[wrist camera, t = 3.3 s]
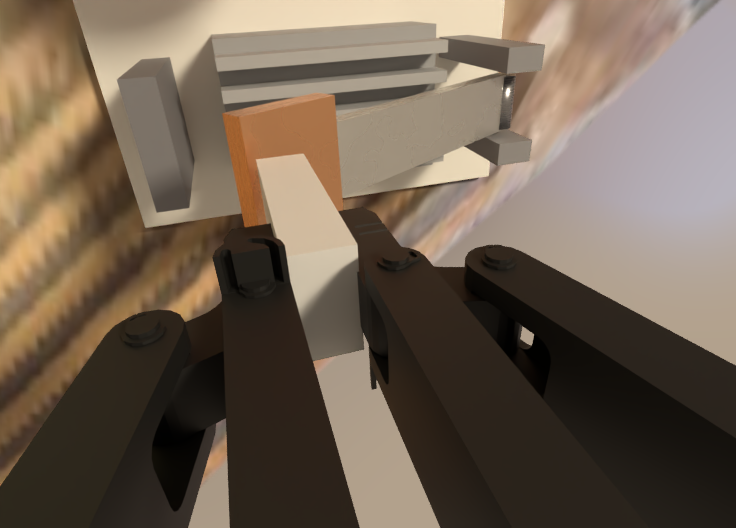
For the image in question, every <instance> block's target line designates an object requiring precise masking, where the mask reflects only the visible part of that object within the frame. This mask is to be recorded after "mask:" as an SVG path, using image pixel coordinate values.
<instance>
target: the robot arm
mask: <svg viewBox="0 0 736 528" xmlns="http://www.w3.org/2000/svg"><path fill="white" fill-rule="evenodd" d="M256 163H257V169H258V175H259V181H260V187H261V193H262V198H263V204H264V210H265V216H266V222H267V224H263V225H256V226H250V227H244V228H237V229H232V230H231V231H230V232H229V234H228V235H227V236H226V237H225V239H224V244H223V245H222V246H220V247H219V248H218V249H217V250H216V251H215V253H214V255H213V261H214V265H215V270H216V274H217V278H218V282H219V286H220V290H221V294H222V302H221V303H220V304H218V305H217V306H216V307H215V308H214V309H212V310H211V311H209V312H208V313H206V314H203V315H201V316H199V317H197V318H194V319H192V320H189V321H187V322H184V320H183V318H182V317H181V315H180V314H178V313H175V312H173V311H169V310H154V311H148V312H142V313H138V314H137V315H136V314H135V315H133V316H131V317H129V318H127V319H125V320H124V321H122V322H120V323H119V324H117V325H115V326H114V327H113V328H112V329H111V330H110V331H109V332H108V333H107V334H106V335H105V337H104V338H103V340H102V341H101V343H100V344H99V345H98V347H97V348H96V350H95V351H94V353H93V354H92V355H91V357H90V358H89V360H88V361H87V363H86V364H85V366H84V367H83V368H82V370H81V371H80V373H79V374H78V376H77V377H76V378H75V380H74V381H73V383H72V384H71V386H70V387H69V388H68V390H67V391H66V393H65V394H64V396H63V397H62V399H61V400H60V401H59V403H58V404H57V406H56V407H55V409H54V410H53V411H52V413H51V414H50V416H49V417H48V419H47V420H46V422H45V423H44V424H43V426H42V427H41V429H40V430H39V432H38V433H37V434H36V436H35V437H34V439H33V440H32V442H31V443H30V444H29V446H28V447H27V449H26V450H25V452H24V453H23V455H22V456H21V457H20V459H19V460H18V462H17V463H16V465H15V466H14V467H13V469H12V470H11V472H10V473H9V475H8V476H7V477H6V479H5V480H4V482H3V483H2V485H1V486H0V528H188V526H189V522H190V519H191V515H192V512H193V508H194V505H195V502H196V498H197V495H198V491H199V488H200V484H201V481H202V477H203V474H204V471H205V467H206V464H207V460H208V457H209V453H210V450H211V447H212V443H213V440H214V436H215V430H216V423H217V422H219V421H221V420H223V419H225V418H226V431H227V460H228V487H229V516H230V528H360V527H359V524H358V520H357V517H356V513H355V510H354V507H353V503H352V499H351V495H350V492H349V488H348V485H347V481H346V478H345V474H344V471H343V467H342V463H341V460H340V456H339V453H338V449H337V446H336V442H335V438H334V435H333V431H332V428H331V424H330V421H329V417H328V414H327V410H326V407H325V403H324V400H323V396H322V392H321V389H320V385H319V382H318V378H317V374H316V371H315V367H314V364H313V361H315V360H320V359H324V358H329V357H333V356H337V355H342V354H346V353H351V352H355V351H359V350H364V341H363V333H364V335H365V337H366V339H367V341H368V344H369V358H370V376H371V387H372V389H376V380H377V381H378V383H379V385H380V388H381V390H382V392H383V395H384V397H385V399H386V402H387V404H388V406H389V409H390V411H391V413H392V416H393V418H394V420H395V423H396V425H397V427H398V430H399V432H400V435H401V437H402V439H403V442H404V444H405V446H406V448H407V451H408V453H409V455H410V458H411V460H412V462H413V465H414V467H415V469H416V472H417V474H418V477H419V479H420V481H421V484H422V486H423V488H424V490H425V493H426V495H427V497H428V500H429V502H430V504H431V507H432V509H433V512H434V514H435V516H436V518H437V521H438V523H439V526H440V528H736V366H735V365H733V364H732V363H730V362H728V361H726V360H724V359H722V358H720V357H719V356H717V355H715V354H713V353H711V352H709V351H707V350H705V349H704V348H702V347H700V346H698V345H696V344H694V343H692V342H690V341H688V340H686V339H684V338H683V337H681V336H679V335H677V334H675V333H673V332H672V331H670V330H668V329H666V328H664V327H662V326H660V325H658V324H656V323H655V322H653V321H651V320H649V319H647V318H645V317H643V316H642V315H640V314H638V313H636V312H634V311H632V310H630V309H628V308H627V307H625V306H623V305H621V304H619V303H617V302H615V301H613V300H612V299H610V298H608V297H606V296H604V295H602V294H600V293H598V292H597V291H595V290H593V289H591V288H589V287H587V286H585V285H583V284H582V283H580V282H578V281H576V280H574V279H572V278H570V277H568V276H566V275H565V274H563V273H561V272H559V271H557V270H555V269H553V268H552V267H550V266H548V265H546V264H544V263H542V262H540V261H538V260H536V259H534V258H533V257H531V256H529V255H527V254H525V253H523V252H521V251H519V250H516V249H514V248H511V247H505V246H502V245H494V246H493V245H486V246H483V247H478V248H475V249H473V250H472V251H470V252H469V253H468V254H467V256H466V258H465V267H434V266H433V265H432V264H431V263H430V262H429V260H428V259H427V258H426V257H425V256H424V255H423V254H421V253H420V252H419V251H416V250H413V249H410V248H405V247H401V246H400V245H399V243H398V242H397V241H396V240H395V238H394V237H393V236H392V234H391V233H390V232H389V230H387V228H386V226H385V225H384V224H383V223H382V221H381V220H380V219H379V217H378V216H377V215H376V213H374V212H372V211H369V210H367V209H365V208H363V207H361V208H355V209H349V210H342V211H337V209H336V207H335V206H334V204H333V202H332V201H331V199H330V197H329V196H328V194H327V192H326V190H325V189H324V187H323V185H322V184H321V182H320V180H319V179H318V177H317V175H316V174H315V172H314V170H313V169H312V167H311V165H310V164H309V162H308V160H307V158H306V157H305V155H304V153H303V154H295V155H287V156H279V157H271V158H263V159H256ZM522 326H523V327H525V328H526V329H528V330H529V331H530V332H532V333H533V334H534V339H533V344H532V346H531V345H528V344H526V343H525V342H523V341H522V340H521V339H520V337H521V331H522Z"/></svg>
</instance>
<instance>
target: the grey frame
mask: <svg viewBox="0 0 736 528" xmlns="http://www.w3.org/2000/svg"><path fill="white" fill-rule="evenodd" d="M73 3H74V6H75V10H76V13H77V16H78V19H79V22H80V25H81V28H82V31H83V35H84V38H85V41H86V44H87V47H88V50H89V53H90V56H91V60H92V63H93V66H94V69H95V72H96V75H97V78H98V81H99V85H100V88H101V91H102V94H103V97H104V100H105V103H106V106H107V109H108V113H109V116H110V119H111V122H112V125H113V128H114V131H115V134H116V138H117V141H118V144H119V147H120V150H121V153H122V156H123V159H124V163H125V166H126V169H127V172H128V175H129V178H130V181H131V184H132V188H133V191H134V194H135V197H136V200H137V203H138V206H139V209H140V213H141V216H142V219H143V222H144V225H145V228H149V227H155V226H162V225H168V224H175V223H182V222H188V221H195V220H201V219H208V218H215V217H221V216H228V215H234V214H241V213H242V211H241V206H240V201H239V196H238V191H237V186H236V181H235V176H234V171H233V166H232V161H231V156H230V151H229V146H228V141H227V136H226V131H225V126H224V121H223V116H222V113H226V112H230V111H235V110H239V109H244V108H248V107H253V106H257V105H262V104H267V103H271V102H276V101H280V100H285V99H289V98H294V97H299V96H303V95H308V94H312V93H323V94H330V95H335V107H336V116H338V115H342V114H346V113H349V112H353V111H357V110H360V109H364V108H368V107H372V106H375V105H379V104H383V103H386V102H390V101H394V100H398V99H401V98H405V97H409V96H412V95H416V94H420V93H424V92H427V91H431V90H435V89H438V88H442V87H446V86H450V85H453V84H457V83H461V82H464V81H468V80H472V79H476V78H479V77H483V76H487V75H490V74H494V73H498V72H502V73H506V74H510V73H520V72H531V71H541V70H542V63H543V56H544V49H545V45H543V44H535V43H528V42H520V41H512V40H504V39H501V36H502V25H503V15H504V4H505V0H73ZM531 144H532V140H531V139H528V138H526V137H524V136H521V135H519V134H517V133H514V132H512V131H510V130H508V129H504V130H501V131H499V132H497V133H494V134H492V135H489V136H487V137H485V138H482V139H480V140H478V141H475V142H473V143H470V144H468V145H466V146H463V147H461V148H459V149H456V150H454V151H451V152H449V153H447V154H444V155H442V156H440V157H437V158H435V159H432V160H430V161H428V162H425V163H423V164H421V165H418V166H416V167H414V168H411V169H409V170H406V171H404V172H402V173H399V174H397V175H395V176H392V177H390V178H387V179H385V180H383V181H380V182H378V183H376V184H373V185H371V186H368V187H366V188H364V189H361V190H359V191H357V192H354V193H352V194H349V195H347V196H345V197H342V198H346V197H353V196H360V195H366V194H373V193H379V192H386V191H393V190H399V189H406V188H412V187H419V186H425V185H432V184H439V183H445V182H452V181H458V180H465V179H472V178H478V177H485V176H489V166H490V162H492V163H494V164H495V165H497V166H500V165H506V164H513V163H520V162H527V161H529V158H530V151H531Z"/></svg>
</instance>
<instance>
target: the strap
mask: <svg viewBox="0 0 736 528" xmlns="http://www.w3.org/2000/svg"><path fill="white" fill-rule="evenodd" d="M515 82H516V75H515V74H506V73H494V74H490V75H487V76H483V77H479V78H476V79H472V80H468V81H464V82H461V83H457V84H453V85H450V86H446V87H442V88H438V89H435V90H431V91H427V92H424V93H420V94H416V95H412V96H409V97H405V98H401V99H398V100H394V101H390V102H386V103H383V104H379V105H375V106H372V107H368V108H364V109H360V110H357V111H353V112H349V113H346V114H342V115H338V116H336V107H335V95H330V94H323V93H312V94H308V95H303V96H299V97H294V98H289V99H285V100H280V101H276V102H271V103H267V104H262V105H257V106H253V107H248V108H244V109H239V110H235V111H230V112H226V113H222V116H223V121H224V126H225V131H226V136H227V141H228V146H229V151H230V156H231V161H232V166H233V171H234V176H235V181H236V186H237V191H238V196H239V201H240V206H241V211H242V216H243V221H244V226H245V227H250V226H256V225H263V224H267V222H266V216H265V210H264V204H263V198H262V193H261V187H260V181H259V175H258V169H257V163H256V159H263V158H271V157H279V156H287V155H295V154H303V153H304V155H305V157H306V158H307V160H308V162H309V164H310V165H311V167H312V169H313V170H314V172H315V174H316V175H317V177H318V179H319V180H320V182H321V184H322V185H323V187H324V189H325V190H326V192H327V194H328V196H329V197H330V199H331V201H332V202H333V204H334V206H335V207H336V209H337V211H342V210H343V198H342V197H345V196H347V195H349V194H352V193H354V192H357V191H359V190H361V189H364V188H366V187H368V186H371V185H373V184H376V183H378V182H380V181H383V180H385V179H387V178H390V177H392V176H395V175H397V174H399V173H402V172H404V171H406V170H409V169H411V168H414V167H416V166H418V165H421V164H423V163H425V162H428V161H430V160H432V159H435V158H437V157H440V156H442V155H444V154H447V153H449V152H451V151H454V150H456V149H459V148H461V147H463V146H466V145H468V144H470V143H473V142H475V141H478V140H480V139H482V138H485V137H487V136H489V135H492V134H494V133H497V132H499V131H501V130H504V129H509V128H510V126H511V117H512V108H513V99H514V90H515Z"/></svg>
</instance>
